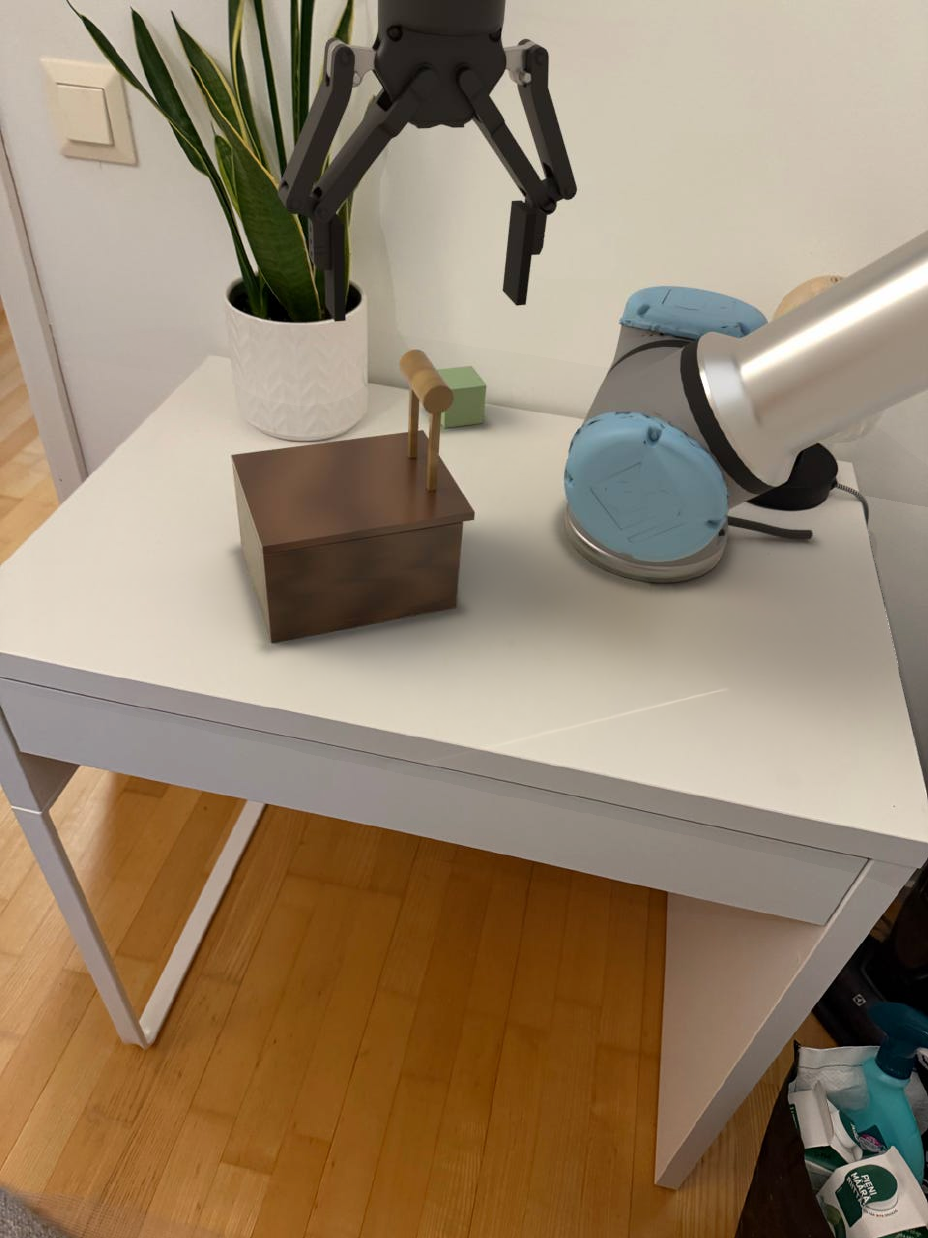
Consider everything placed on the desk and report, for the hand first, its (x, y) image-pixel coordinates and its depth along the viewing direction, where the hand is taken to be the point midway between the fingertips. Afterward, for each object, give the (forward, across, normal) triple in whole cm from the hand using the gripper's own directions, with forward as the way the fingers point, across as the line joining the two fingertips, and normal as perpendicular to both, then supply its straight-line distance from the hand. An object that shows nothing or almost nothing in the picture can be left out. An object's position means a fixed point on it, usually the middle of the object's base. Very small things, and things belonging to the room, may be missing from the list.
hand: (427, 305), depth 67 cm
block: (+24, -13, -24) cm, 36 cm away
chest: (+24, +6, 0) cm, 25 cm away
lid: (+15, +6, 0) cm, 16 cm away
